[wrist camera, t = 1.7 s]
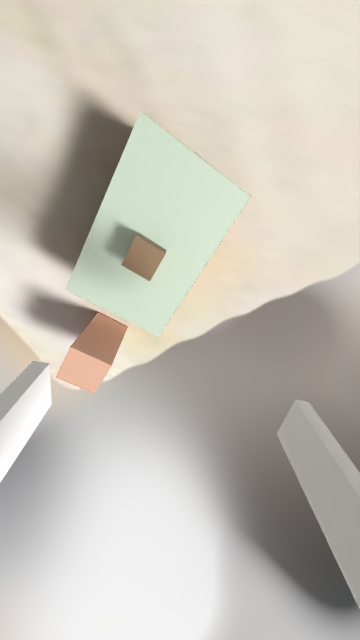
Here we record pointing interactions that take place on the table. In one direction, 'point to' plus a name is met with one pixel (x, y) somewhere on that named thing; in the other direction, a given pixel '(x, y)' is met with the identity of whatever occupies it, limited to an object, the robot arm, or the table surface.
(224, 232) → the lid
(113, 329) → the key block
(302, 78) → the table surface
